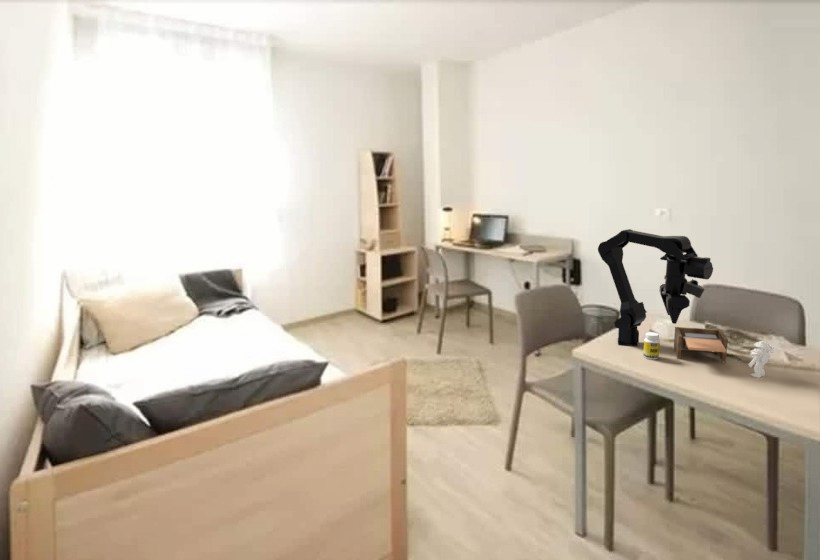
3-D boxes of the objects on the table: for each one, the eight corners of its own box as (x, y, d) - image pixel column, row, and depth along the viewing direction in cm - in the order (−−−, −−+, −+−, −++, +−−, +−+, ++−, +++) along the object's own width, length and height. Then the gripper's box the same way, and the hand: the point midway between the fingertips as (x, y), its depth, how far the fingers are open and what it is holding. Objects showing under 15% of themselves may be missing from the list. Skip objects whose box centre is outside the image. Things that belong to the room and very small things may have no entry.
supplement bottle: (650, 360, 163) (651, 337, 162) (640, 355, 168) (641, 332, 166) (661, 358, 165) (663, 335, 163) (651, 353, 169) (652, 330, 167)
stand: (677, 358, 164) (678, 336, 162) (673, 348, 173) (675, 326, 171) (725, 362, 159) (727, 339, 157) (719, 351, 168) (721, 329, 166)
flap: (686, 358, 155) (687, 346, 154) (680, 343, 167) (681, 332, 167) (726, 361, 151) (728, 349, 150) (717, 346, 163) (718, 334, 162)
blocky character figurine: (756, 381, 145) (761, 343, 142) (743, 376, 148) (746, 339, 145) (773, 374, 149) (778, 336, 146) (760, 369, 152) (764, 333, 149)
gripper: (710, 281, 150) (705, 329, 154) (696, 268, 167) (692, 312, 171) (669, 280, 153) (666, 327, 157) (660, 268, 171) (657, 310, 174)
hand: (671, 319), depth 165 cm, fingers open, 9 cm apart
